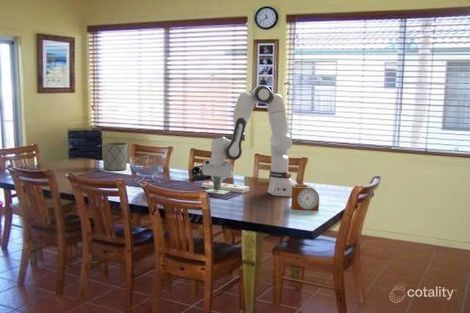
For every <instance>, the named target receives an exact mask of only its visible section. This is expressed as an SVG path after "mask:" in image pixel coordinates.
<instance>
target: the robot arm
mask: <svg viewBox="0 0 470 313" xmlns="http://www.w3.org/2000/svg"><path fill="white" fill-rule="evenodd" d="M257 103H260V104H265V105H266V107H267V114H268V120H269V125H270V126H269V127H270V129H271V133H272V134H271V136H270V139H269V142H270V156H271V157H270V158H271V164H270V170H269V171H270V173H269V186H268V190H267V193H268V194H270V195H272V196H280V197H291V198H292V185H295V184H298V183H297V182H296V181H295V180H294V179H293V178H292V176H291V175H292V172H290V171H289V162H290V161H289V160H290V159H289V152H288V151H289V149H291V148H292V146H293V140H292V136H291V131H290V128H289V125H288V124H289V123H288V118H287V111H286V106H285V101H284V98H283V96H282V95H281V94H279V93H274V92H273V91H272V90H271V89H270V87H268V86H267V85H265V84H259V85H255V86H254V87H253V88H252V89H251V90H250V91H249V92H247V91H244V92H241V93H240V94H239V96H238V98H237V100H236V103H235V104H234V105H235V106H234V110H233V115H232V119H233V123H234V124H233V126H234V128H233V131H232V136H231V140H229V139H228V138H227V137H225V136H223V135H221V136H219V135H218V136H215V137H213V139H212V140H211V145H210V146H211V148H210V150H211V151H210V152H211V156H210V158H209V159H206V160H203V164H202V165H203V171H202V173H203V175H209V176H211V177H210V178H211V180H212V182H213V183H214V177H215V176H216V177H220V178H221V180H220V181H219V184H222V183H223V180H224V179H231V178H232V177H233V176H234V175H233V172H234V171H233V166H234V165H233V164H232V163H230V162H226V158H227V159H229V160H231V161H236V160H238V159H240V157H241V156H242V152H243V149H242V141H243V138H244V135H245V134H244V133H245V129H246V128H247V125H248V123H249V121H250V119H251V116H252V112H253V108H254V107H255V104H257Z"/></svg>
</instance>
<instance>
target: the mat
mask: <svg viewBox="0 0 470 313" xmlns="http://www.w3.org/2000/svg"><path fill="white" fill-rule="evenodd" d="M205 191H206V192H205V193H211V194H217V195H226V194H228V193H230V192H231V191H225V190H214V189H210V188H207V189H206V190H205Z"/></svg>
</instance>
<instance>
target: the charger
mask: <svg viewBox="0 0 470 313" xmlns="http://www.w3.org/2000/svg"><path fill="white" fill-rule="evenodd" d="M220 180H221V178H220V177H217V176H216V177H214V190H220V189H221V184H219V181H220Z"/></svg>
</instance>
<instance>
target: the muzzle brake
mask: <svg viewBox="0 0 470 313" xmlns="http://www.w3.org/2000/svg"><path fill="white" fill-rule="evenodd" d="M203 165H204V164H202V165H201V164H200V165H197V166H195V165H194V167H192V169H191V176H192V177H193V179H195V180H197V181H199V180H203V179H208V178H211V176H209V175H203V173H202V171H203ZM215 177H217V176H215Z"/></svg>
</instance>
